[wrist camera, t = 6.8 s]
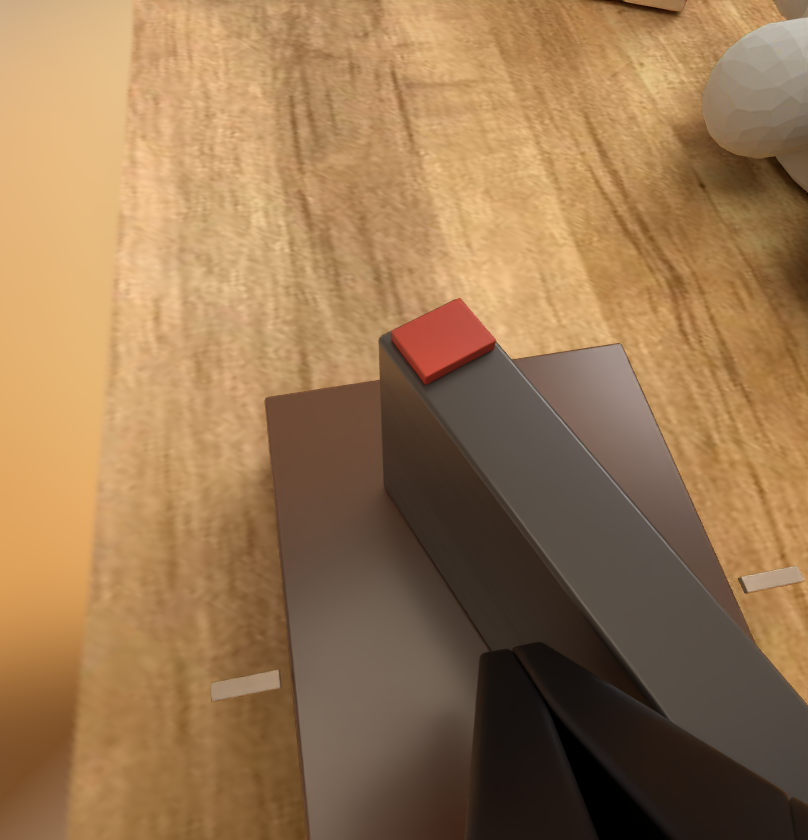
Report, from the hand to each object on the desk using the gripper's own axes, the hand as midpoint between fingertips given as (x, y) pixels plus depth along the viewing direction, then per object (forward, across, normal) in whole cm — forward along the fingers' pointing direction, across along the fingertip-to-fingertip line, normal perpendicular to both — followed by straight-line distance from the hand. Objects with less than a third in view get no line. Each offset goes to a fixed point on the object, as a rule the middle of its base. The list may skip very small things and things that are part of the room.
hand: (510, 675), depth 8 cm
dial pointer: (+5, -1, +3) cm, 5 cm away
